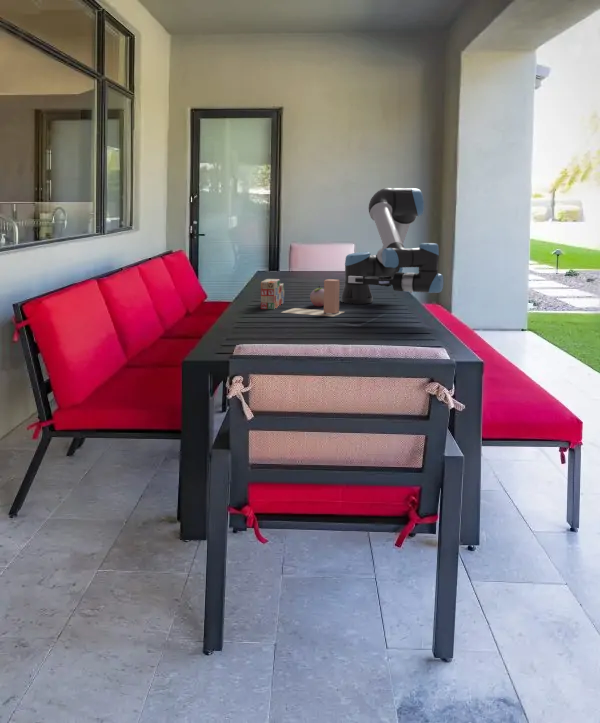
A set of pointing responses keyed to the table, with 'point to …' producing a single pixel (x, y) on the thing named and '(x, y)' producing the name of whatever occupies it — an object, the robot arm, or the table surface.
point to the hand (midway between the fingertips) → (348, 279)
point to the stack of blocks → (271, 293)
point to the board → (309, 312)
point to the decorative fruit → (317, 297)
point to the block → (331, 296)
